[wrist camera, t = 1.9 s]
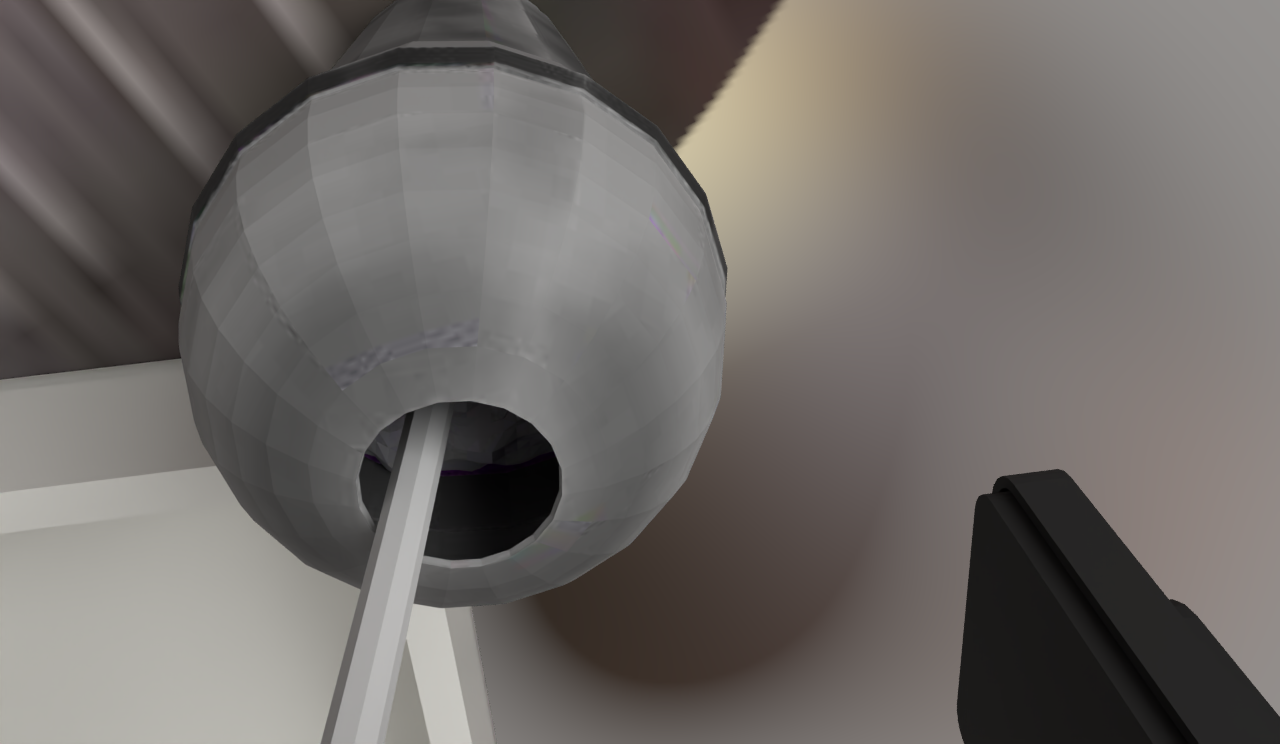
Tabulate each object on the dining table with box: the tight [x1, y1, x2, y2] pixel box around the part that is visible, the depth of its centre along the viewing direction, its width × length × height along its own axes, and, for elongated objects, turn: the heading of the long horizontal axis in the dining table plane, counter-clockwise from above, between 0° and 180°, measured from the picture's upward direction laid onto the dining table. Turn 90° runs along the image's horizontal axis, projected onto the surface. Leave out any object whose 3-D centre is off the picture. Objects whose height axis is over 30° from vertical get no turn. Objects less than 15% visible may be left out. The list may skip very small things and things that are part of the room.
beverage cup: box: [178, 0, 727, 744], centre depth 17 cm, size 7×7×20 cm
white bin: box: [0, 359, 497, 744], centre depth 30 cm, size 18×18×5 cm
